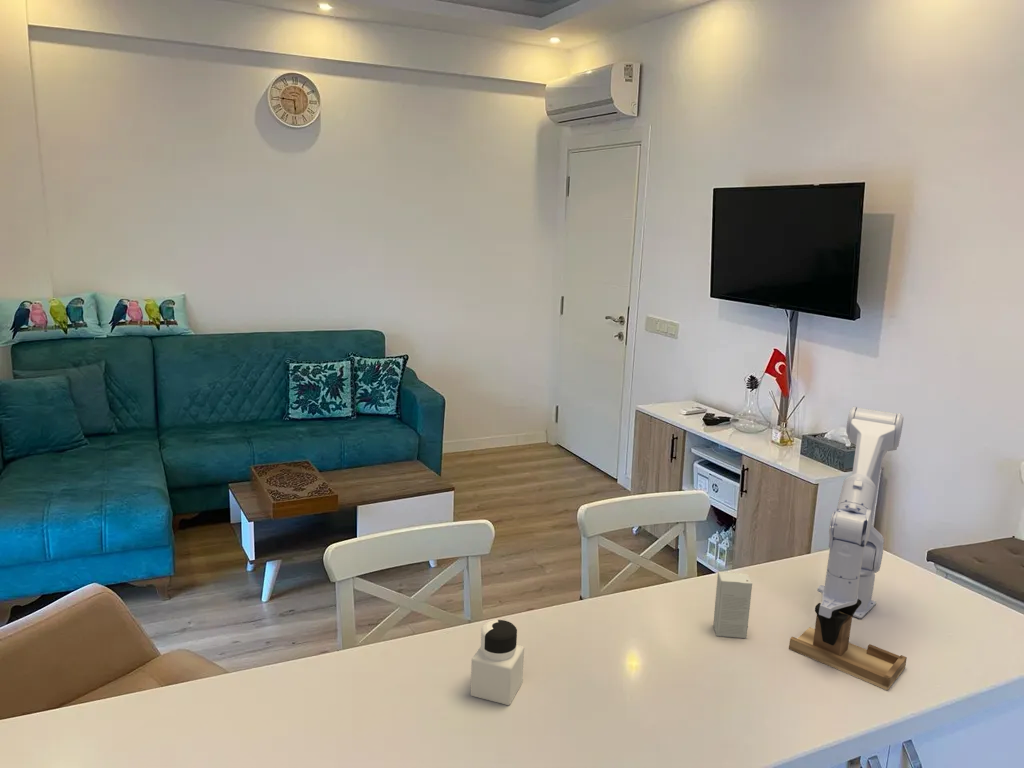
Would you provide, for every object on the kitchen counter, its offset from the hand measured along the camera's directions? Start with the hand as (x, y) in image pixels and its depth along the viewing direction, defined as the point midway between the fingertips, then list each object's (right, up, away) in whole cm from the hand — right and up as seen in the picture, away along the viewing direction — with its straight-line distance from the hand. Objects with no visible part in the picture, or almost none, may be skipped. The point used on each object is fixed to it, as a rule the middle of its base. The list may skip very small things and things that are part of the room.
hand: (833, 637), depth 143 cm
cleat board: (+2, -4, -1) cm, 4 cm away
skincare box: (-18, -1, +7) cm, 19 cm away
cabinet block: (0, -2, +1) cm, 3 cm away
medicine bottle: (-64, -4, -14) cm, 66 cm away
